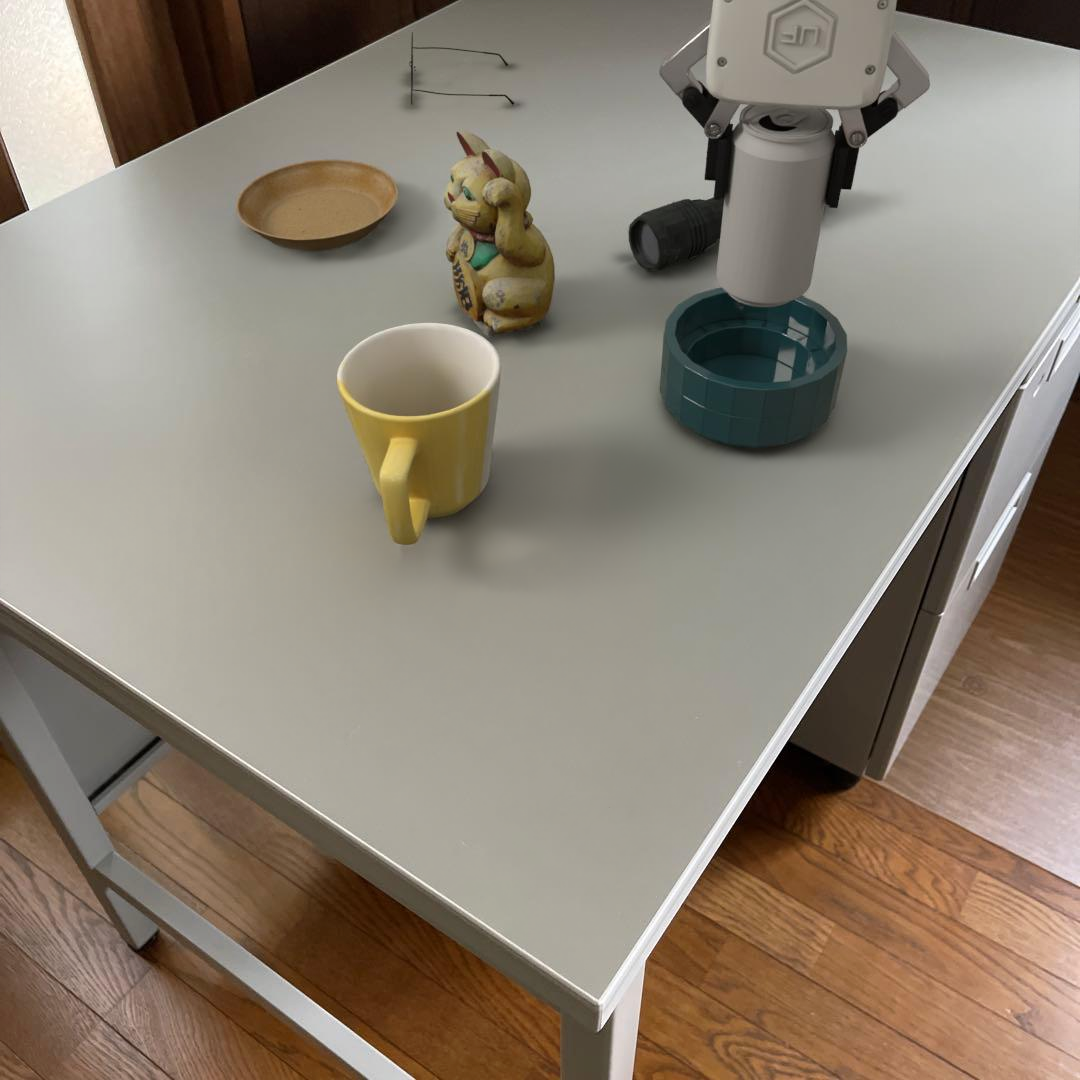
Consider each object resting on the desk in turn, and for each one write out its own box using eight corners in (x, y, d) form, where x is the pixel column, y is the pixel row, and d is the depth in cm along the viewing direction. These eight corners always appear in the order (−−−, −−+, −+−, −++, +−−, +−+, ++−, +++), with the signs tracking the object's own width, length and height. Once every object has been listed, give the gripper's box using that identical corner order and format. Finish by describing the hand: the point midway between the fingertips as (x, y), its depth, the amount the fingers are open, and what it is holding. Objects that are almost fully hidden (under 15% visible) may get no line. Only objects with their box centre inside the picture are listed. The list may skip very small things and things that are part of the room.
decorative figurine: (435, 301, 93) (418, 128, 82) (517, 271, 96) (511, 101, 85) (495, 357, 87) (485, 178, 77) (581, 323, 90) (583, 147, 80)
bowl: (832, 359, 86) (845, 292, 82) (833, 465, 77) (848, 397, 73) (668, 344, 88) (673, 278, 84) (651, 447, 79) (655, 379, 75)
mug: (396, 430, 81) (379, 308, 73) (528, 459, 78) (523, 335, 71) (309, 558, 72) (279, 434, 64) (454, 595, 69) (441, 470, 62)
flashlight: (625, 257, 97) (627, 205, 94) (803, 193, 105) (811, 143, 101) (659, 283, 94) (662, 230, 91) (840, 215, 102) (849, 164, 98)
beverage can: (695, 286, 76) (711, 115, 67) (757, 252, 79) (779, 85, 70) (767, 324, 72) (793, 150, 64) (829, 288, 75) (861, 116, 67)
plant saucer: (373, 271, 96) (369, 244, 95) (215, 256, 99) (209, 230, 97) (420, 190, 107) (417, 165, 105) (276, 178, 109) (271, 153, 107)
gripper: (649, -107, 57) (634, 213, 69) (1000, -96, 54) (918, 233, 67) (663, -146, 62) (647, 158, 75) (984, -137, 60) (911, 175, 72)
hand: (775, 191), depth 71 cm, fingers closed on beverage can, 6 cm apart
